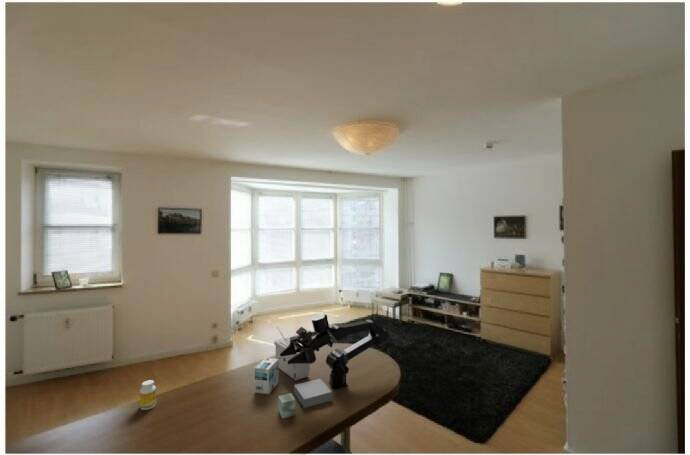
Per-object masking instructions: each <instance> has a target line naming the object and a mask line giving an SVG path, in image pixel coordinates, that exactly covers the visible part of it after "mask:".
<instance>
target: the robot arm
mask: <svg viewBox="0 0 690 455" xmlns="http://www.w3.org/2000/svg"><path fill="white" fill-rule="evenodd" d="M310 319H311V324H312V328H313V331H314V332H315V333H317V334H314V335H313V332H312V331H311V330H310V329H309V330H307V329H306V328H305V327H302V326H300V327H299V328H298V329H297V330H296V331H295V334H297V335H298V336H299V337H300V338H299V337H297V336H292V337H290V344H289V346H288V347H287V348H286V349H285V350H284V351H283V352H282V353H280V356H281V357H282V356H288V355H294V354H297V353H299V352H300V353H299V354H297V355H296V356H294V357H293V358H291V359H290V360H288V364H298V363H307V364H309V363H310V365H312V364H313V363H315V362H316V361H317V357H316V353H315V352H319V351H320V349H321V348H323V347H325V346H326V345H327V346H328V347H330V348H333V346H334V342H335V341H334V340H333V339H335V340H336V341H341V340H344V339H345V338H347V337H348V336H350V335H354V334H358V333H362V332H367V331H368V335H367V336H365V337H364V338H362V339H360V340H358V341H357V342H355V343H353V344H352V345H350V346H348V347H347V348H345V349H343V350H341V349H339V348H335V349H334V350H332V351H330V352H329V353H328V354H327V356H326V359H325V363H326V365H327V366H328V367H329V369H331V370H330V374H329V382H328V383H329V384H330V386H331V387H333V389H335V390H337V389H340V388H344V387H347V386H349V384H348V382H347V374H348V373H349V370H350V368H349V367H348V366H347V365H348V363H349V361H350V360H351V359H353V358H355V357H357V356H358V355H360V354H361V353H363V352H365V351H366V350H368V349H370V348H371V347H374V346H380V345H384V344H386V343H387V342H388V341H389V338H390V332H388V331H387V330H385V329H383V328H382V327H381V326H379V325H378V324H377V323H376V322H375V321H374V320H372V319H370V318H369V319H366V320H362V321H356V322H352V323H347V324H345V323H331V324H330V323H329V321H328V314H326V313H321V314H315V315H313V316H312V317H311V318H310ZM332 338H333V339H332Z"/></svg>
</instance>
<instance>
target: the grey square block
mask: <svg viewBox="0 0 690 455" xmlns="http://www.w3.org/2000/svg"><path fill="white" fill-rule="evenodd" d="M293 390H294V391H293V394H294V393H295V394H294V395H295V397H296V396H297V397H296V398H297V400H298V399H299V400H298V401H299V403H300V402H301V403H300V404H301V406H302V405H303V406H302V407H303V408H304V409H306V408H305V407H307V408H310V407H314V406H317V405H320V404H324V403H327V402H331V401H333V391H332V390H331V388H330V387H329V386H328V385H327V384H326V383H325V382H324V381H323V380H322V379H321V378H318V379H313V380H310V381H309V380H308V381H305V382H301V383H296V384H294V385H293ZM309 406H310V407H309Z"/></svg>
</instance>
